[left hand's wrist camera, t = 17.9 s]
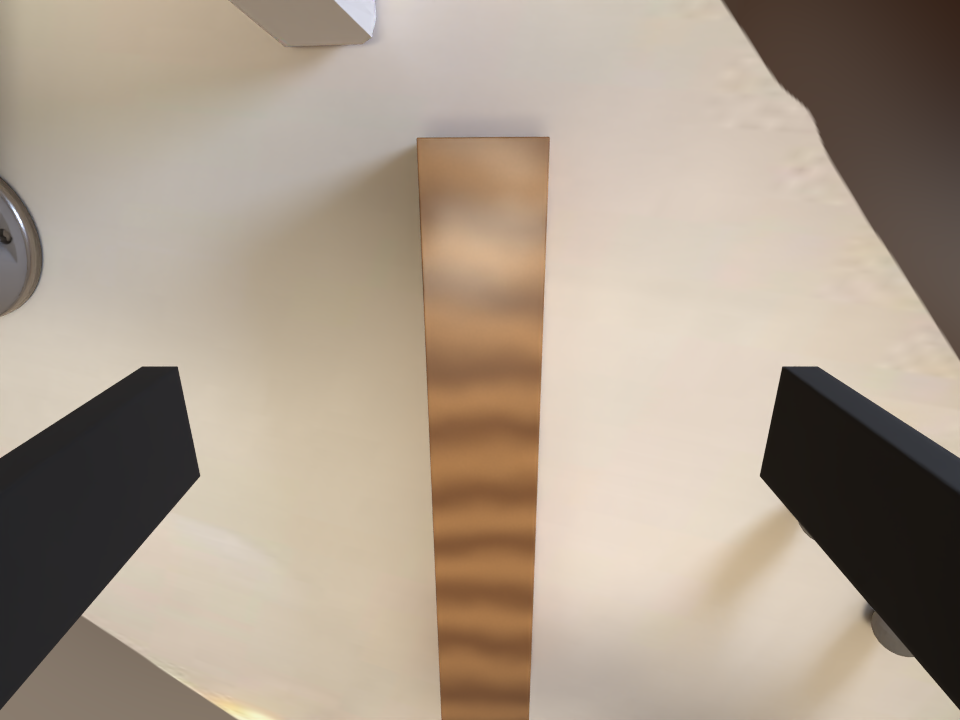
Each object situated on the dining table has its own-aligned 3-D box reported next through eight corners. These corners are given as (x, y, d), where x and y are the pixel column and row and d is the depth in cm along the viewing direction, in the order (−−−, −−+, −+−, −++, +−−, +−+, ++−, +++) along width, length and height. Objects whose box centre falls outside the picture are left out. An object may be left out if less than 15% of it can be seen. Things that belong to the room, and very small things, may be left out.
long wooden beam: (425, 139, 47) (416, 137, 40) (540, 138, 47) (549, 136, 40) (445, 669, 68) (441, 723, 61) (524, 668, 68) (528, 723, 61)
